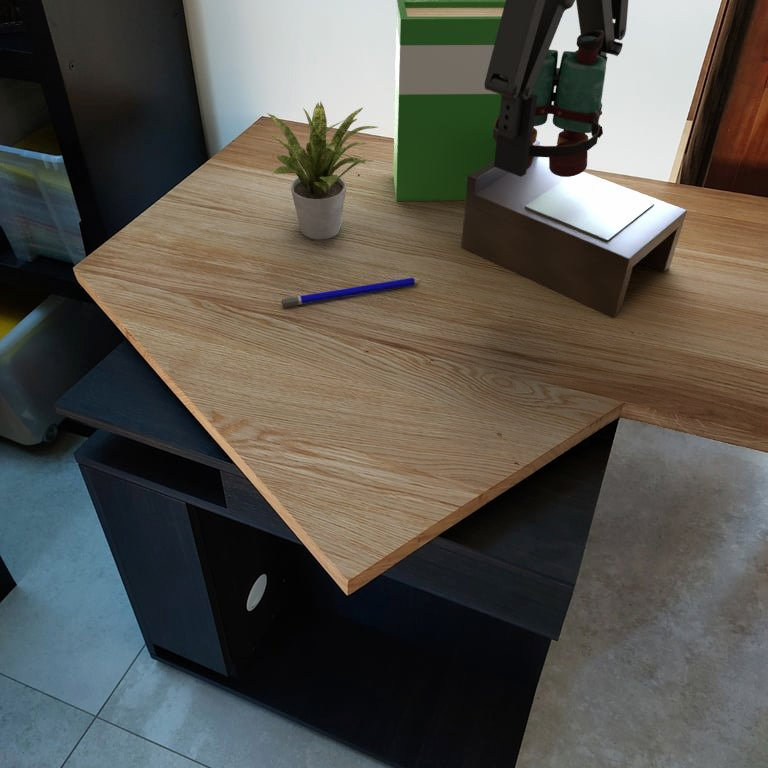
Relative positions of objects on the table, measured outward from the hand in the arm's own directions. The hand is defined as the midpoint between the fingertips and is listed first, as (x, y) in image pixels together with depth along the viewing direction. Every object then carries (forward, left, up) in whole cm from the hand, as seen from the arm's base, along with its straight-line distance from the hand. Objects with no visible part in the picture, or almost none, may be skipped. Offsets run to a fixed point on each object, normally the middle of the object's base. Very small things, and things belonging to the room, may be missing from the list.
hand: (545, 147), depth 68 cm
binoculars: (0, 0, -2) cm, 2 cm away
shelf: (+6, -21, -24) cm, 32 cm away
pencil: (+20, +3, -24) cm, 32 cm away
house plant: (+32, -5, -24) cm, 41 cm away
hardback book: (+27, -26, -24) cm, 45 cm away
